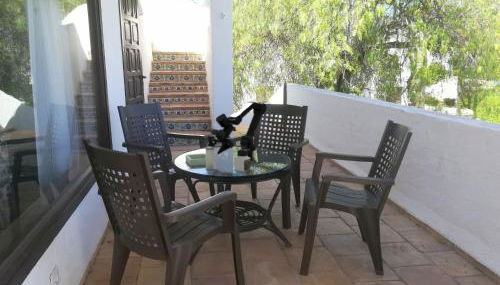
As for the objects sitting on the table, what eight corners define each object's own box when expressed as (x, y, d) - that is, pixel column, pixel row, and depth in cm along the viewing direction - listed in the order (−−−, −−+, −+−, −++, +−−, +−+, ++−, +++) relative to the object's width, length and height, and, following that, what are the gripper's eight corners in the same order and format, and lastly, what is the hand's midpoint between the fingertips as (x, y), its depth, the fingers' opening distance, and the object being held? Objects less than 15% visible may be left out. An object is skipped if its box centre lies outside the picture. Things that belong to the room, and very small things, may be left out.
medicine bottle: (244, 172, 227) (244, 151, 225) (234, 170, 231) (234, 150, 228) (250, 169, 233) (250, 149, 231) (240, 167, 237) (240, 148, 234)
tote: (185, 161, 250) (185, 154, 249) (204, 160, 254) (204, 153, 254) (190, 167, 237) (190, 159, 236) (210, 165, 241) (210, 158, 240)
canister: (215, 168, 235) (215, 146, 233) (212, 170, 230) (212, 148, 228) (207, 167, 236) (207, 146, 234) (204, 169, 232) (204, 148, 229)
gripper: (208, 122, 240) (195, 142, 234) (230, 125, 228) (216, 146, 222) (218, 133, 247) (205, 153, 241) (239, 137, 235) (226, 158, 229)
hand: (212, 152), depth 233 cm, fingers open, 9 cm apart
